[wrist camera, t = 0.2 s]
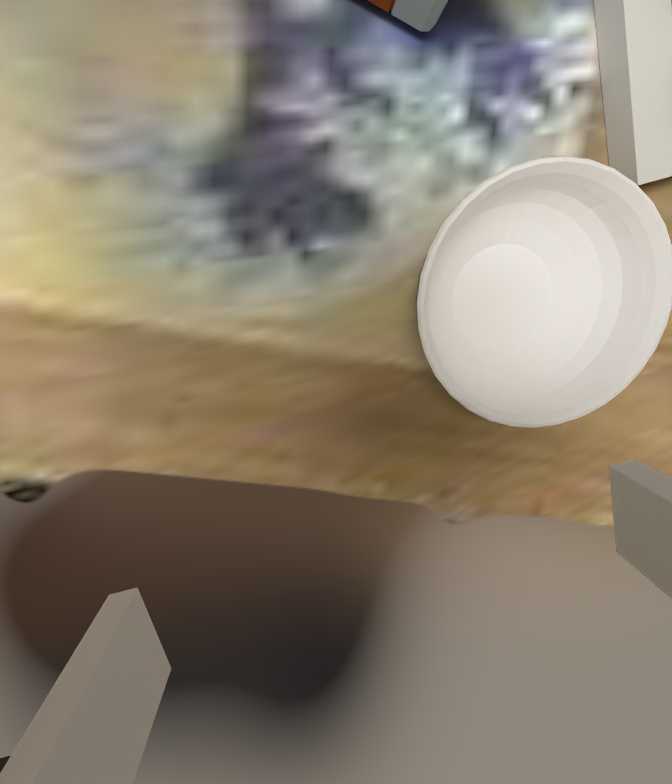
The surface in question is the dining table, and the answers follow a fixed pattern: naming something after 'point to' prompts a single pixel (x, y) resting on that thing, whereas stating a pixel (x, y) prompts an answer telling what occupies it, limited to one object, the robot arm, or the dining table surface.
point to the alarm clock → (414, 11)
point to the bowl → (545, 291)
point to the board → (636, 85)
